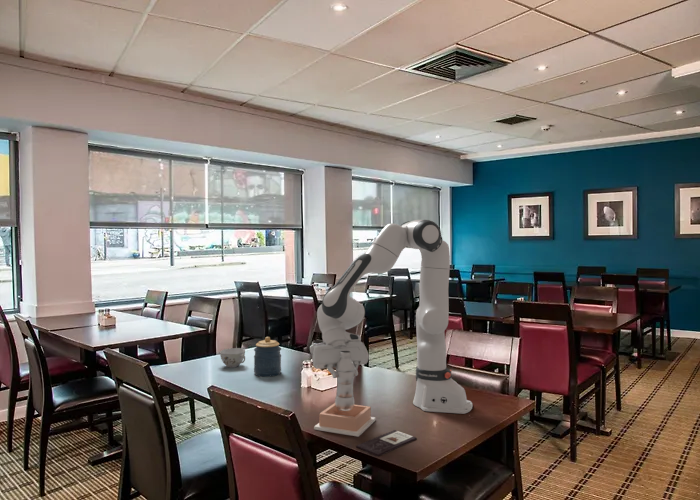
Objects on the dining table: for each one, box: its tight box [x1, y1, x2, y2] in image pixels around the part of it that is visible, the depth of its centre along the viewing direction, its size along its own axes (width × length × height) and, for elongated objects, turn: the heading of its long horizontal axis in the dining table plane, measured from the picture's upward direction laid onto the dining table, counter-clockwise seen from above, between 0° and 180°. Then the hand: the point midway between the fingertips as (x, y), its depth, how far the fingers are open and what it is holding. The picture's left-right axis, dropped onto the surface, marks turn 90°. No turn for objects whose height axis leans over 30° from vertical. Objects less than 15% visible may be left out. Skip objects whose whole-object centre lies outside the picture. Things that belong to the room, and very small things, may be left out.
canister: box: [253, 336, 282, 378], centre depth 235 cm, size 13×13×18 cm
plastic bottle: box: [334, 351, 355, 411], centre depth 168 cm, size 6×7×20 cm
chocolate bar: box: [356, 429, 417, 457], centre depth 152 cm, size 9×1×18 cm
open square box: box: [313, 402, 377, 438], centre depth 168 cm, size 16×16×5 cm
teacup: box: [219, 347, 246, 368], centre depth 248 cm, size 15×12×8 cm
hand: (346, 376), depth 167 cm, fingers closed on plastic bottle, 6 cm apart
